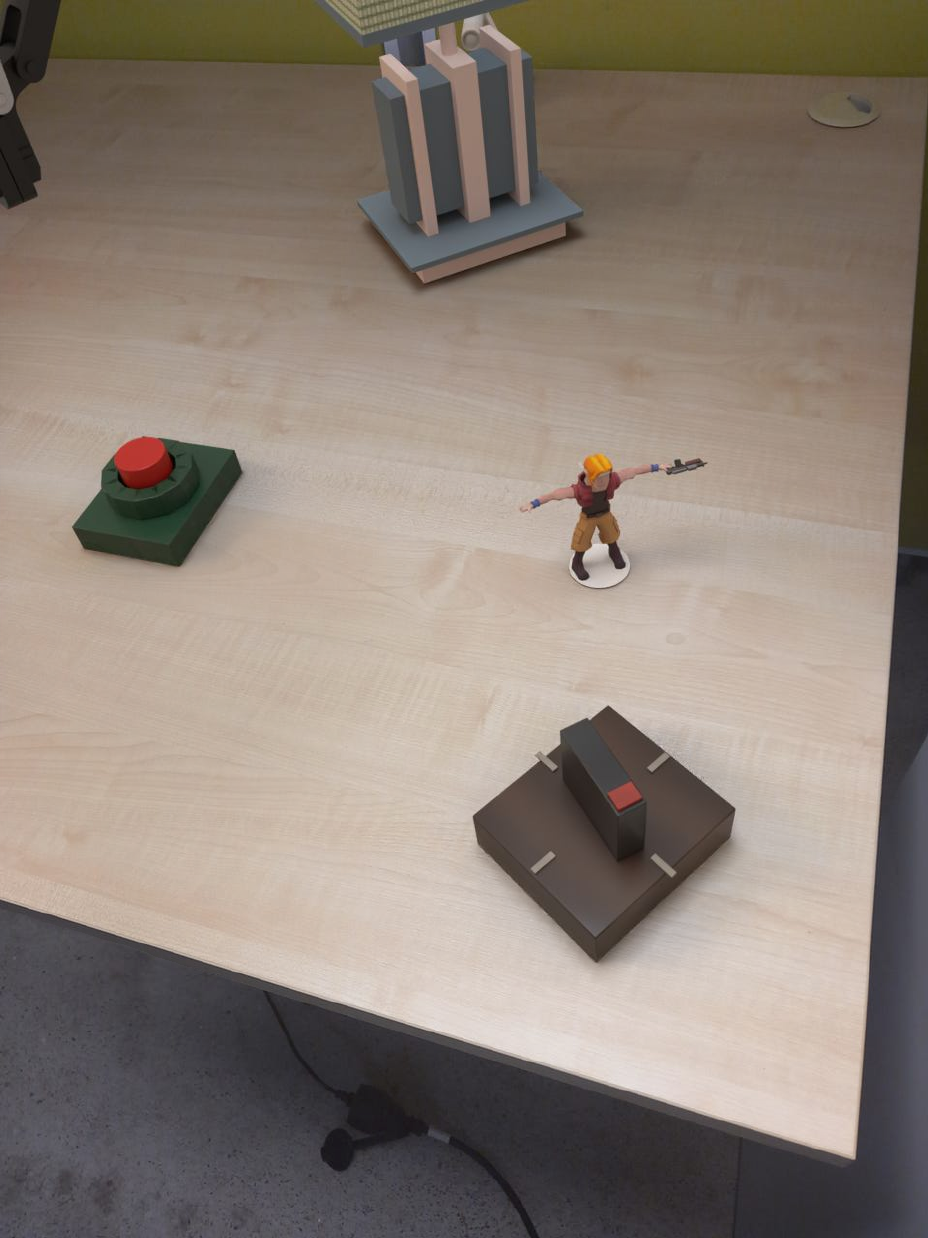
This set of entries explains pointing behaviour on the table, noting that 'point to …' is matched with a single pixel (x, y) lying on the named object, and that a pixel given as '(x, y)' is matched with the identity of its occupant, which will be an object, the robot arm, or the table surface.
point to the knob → (603, 789)
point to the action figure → (601, 518)
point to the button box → (159, 505)
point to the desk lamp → (454, 140)
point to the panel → (578, 856)
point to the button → (143, 462)
